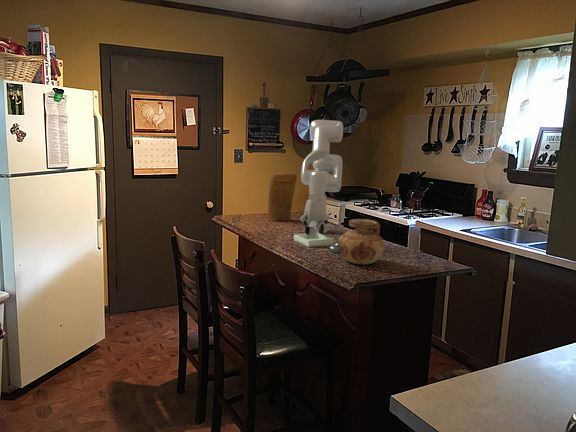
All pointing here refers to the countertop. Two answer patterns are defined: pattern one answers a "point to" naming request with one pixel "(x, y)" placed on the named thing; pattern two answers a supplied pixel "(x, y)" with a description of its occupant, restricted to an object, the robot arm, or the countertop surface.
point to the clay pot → (362, 242)
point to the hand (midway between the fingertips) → (314, 233)
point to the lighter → (314, 230)
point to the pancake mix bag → (281, 197)
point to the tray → (313, 240)
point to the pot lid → (334, 248)
